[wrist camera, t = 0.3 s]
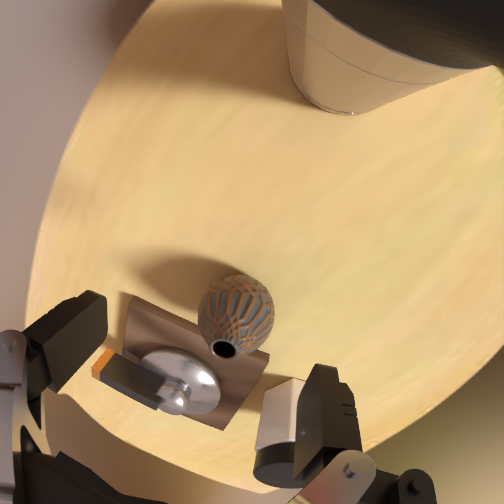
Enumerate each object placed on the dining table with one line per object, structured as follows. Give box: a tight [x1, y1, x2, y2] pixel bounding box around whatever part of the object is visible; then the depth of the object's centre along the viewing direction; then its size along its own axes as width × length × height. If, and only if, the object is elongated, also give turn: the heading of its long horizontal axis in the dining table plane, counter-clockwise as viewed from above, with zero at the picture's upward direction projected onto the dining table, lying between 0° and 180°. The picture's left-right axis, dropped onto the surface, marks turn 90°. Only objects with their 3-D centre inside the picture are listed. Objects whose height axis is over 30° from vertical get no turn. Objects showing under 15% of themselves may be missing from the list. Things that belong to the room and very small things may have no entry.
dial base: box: [122, 296, 270, 431], centre depth 34 cm, size 17×17×2 cm
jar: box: [253, 378, 305, 488], centre depth 28 cm, size 9×8×12 cm
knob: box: [91, 347, 222, 415], centre depth 31 cm, size 16×11×6 cm
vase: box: [198, 275, 275, 361], centre depth 25 cm, size 7×7×9 cm
